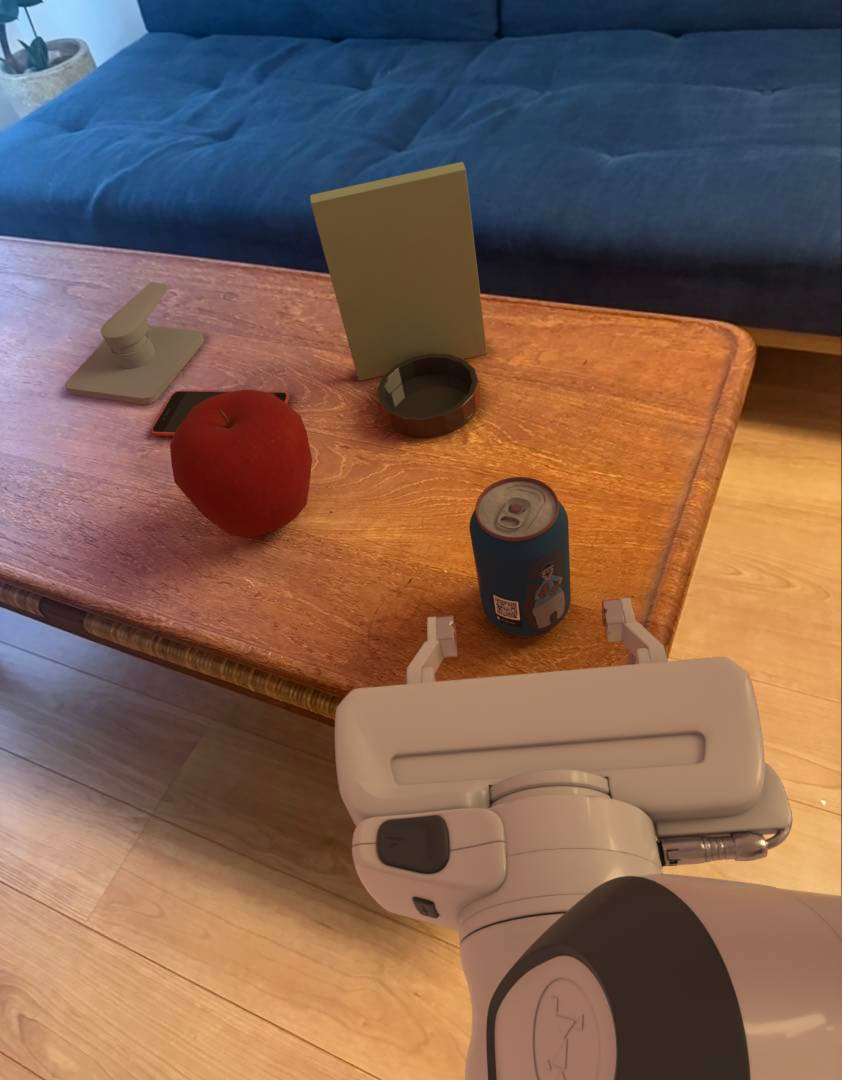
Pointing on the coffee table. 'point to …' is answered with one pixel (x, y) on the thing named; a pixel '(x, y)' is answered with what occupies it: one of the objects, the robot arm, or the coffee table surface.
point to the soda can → (522, 556)
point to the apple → (243, 461)
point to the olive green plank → (403, 267)
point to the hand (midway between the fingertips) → (527, 613)
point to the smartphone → (187, 409)
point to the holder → (429, 395)
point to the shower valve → (135, 354)
